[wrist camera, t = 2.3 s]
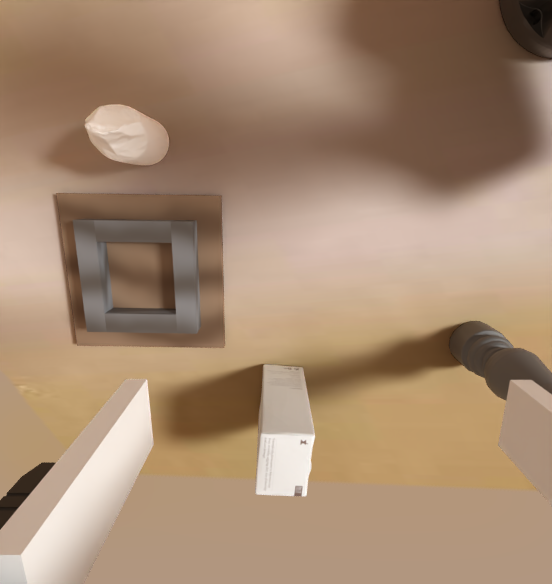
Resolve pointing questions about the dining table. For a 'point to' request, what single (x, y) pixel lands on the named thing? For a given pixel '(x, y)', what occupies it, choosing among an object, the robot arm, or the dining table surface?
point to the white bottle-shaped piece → (127, 135)
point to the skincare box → (284, 433)
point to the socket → (144, 269)
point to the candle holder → (496, 358)
